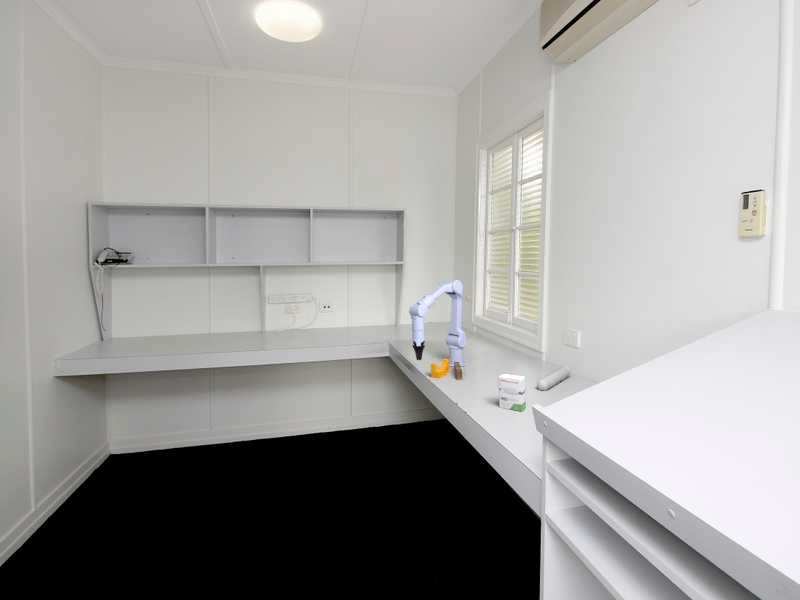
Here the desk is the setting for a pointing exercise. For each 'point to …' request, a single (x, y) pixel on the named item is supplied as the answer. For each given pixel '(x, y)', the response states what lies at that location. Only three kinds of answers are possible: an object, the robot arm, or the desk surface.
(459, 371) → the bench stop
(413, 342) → the robot arm
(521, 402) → the ink box
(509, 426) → the desk surface
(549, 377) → the tube
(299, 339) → the desk surface
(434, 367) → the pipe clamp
